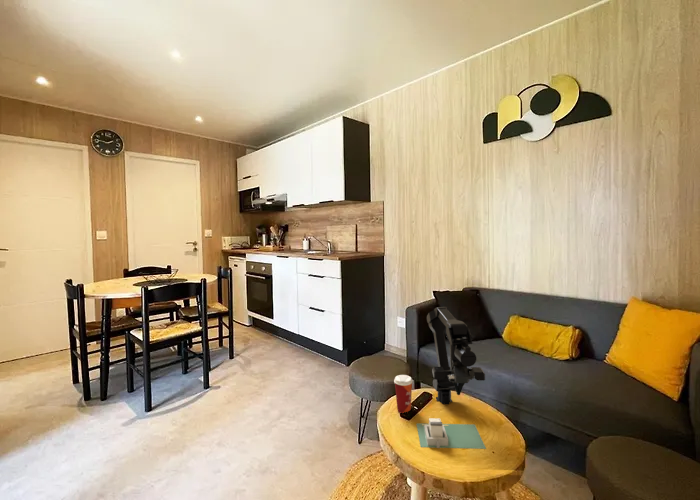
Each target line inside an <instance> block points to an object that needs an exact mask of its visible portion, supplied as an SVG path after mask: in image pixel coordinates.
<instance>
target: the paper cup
mask: <svg viewBox="0 0 700 500" xmlns="http://www.w3.org/2000/svg"><path fill="white" fill-rule="evenodd" d="M393 383H394V387H395V388H394V389H395V398H396V407H397V412H398V413H400V414H401V413H404V412H407V413H408V412H410V411H411V409H412V394H413V393H412V391H413V390H412V389H413V388H412V387H413V380H412V377H411V376H409V375H407V374H398V375H396V376H395V377H394V379H393Z"/></svg>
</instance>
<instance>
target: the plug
mask: <svg viewBox="0 0 700 500" xmlns="http://www.w3.org/2000/svg"><path fill="white" fill-rule="evenodd" d="M428 424H429V435H430V437H442V438H443V427H442V424H443V422H442V420H441V418H440V417H438V418H434V417H433V418H432V417H431V418H430V417H429V418H428Z"/></svg>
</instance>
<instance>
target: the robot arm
mask: <svg viewBox="0 0 700 500" xmlns="http://www.w3.org/2000/svg"><path fill="white" fill-rule="evenodd" d="M426 322H427V324H428V327H429V329H430V330H431V331H432V334H433V338H434V345H435V353H436V360H437V366H433V367H432V371H431V372H432V376H433V380H432V385H433V388H434V390H435V391H436V392H437V396H436V397H435V399H436V402H439V403H441V405H450V404H451V403H453V399H452V391H456V395H457V396H461V393H462V390H463V388H464V385H465V384H468V383H469V382H470V380H473V379H475V380H476V381H485V380H486V374H485V372H484V370H483V369H482V367H479V366H478V367H477V366H474V365H475V363H476V362H477V356H476V353H475V352H474V351H472V347H471V346H470V345H472V344H473V337H472V334H471V331H470V328H469V327H468V325H467V324H466V323H465V322H464V321H462V320H458V319H457V318H456V317H454V315H453V314H452V313H451V312H450V311H449V309H448V307H447V306H438V307H435V308H434V309H433V310H431V311H429V312H428V313H427V315H426ZM445 333H446V335H447V339H448V341H449V356H448V349H447V345H446V337H445Z"/></svg>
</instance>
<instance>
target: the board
mask: <svg viewBox="0 0 700 500" xmlns="http://www.w3.org/2000/svg"><path fill="white" fill-rule="evenodd" d="M442 427H443V438H442V437H430V435H429V423H419V422H417V423H416V428H417V435H418V439H419V446H420V448H430V449H431V448H436V449H441V448H442V449H473V450H474V449H475V450H476V449H477V450H478V449H479V450H481V449H484V450H487V446H486V445H485V443H484V441H483V439H482V437H481V435H480V433H479V430H478V428H477V427H476V424H471V423H470V424H466V423H442Z"/></svg>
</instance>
